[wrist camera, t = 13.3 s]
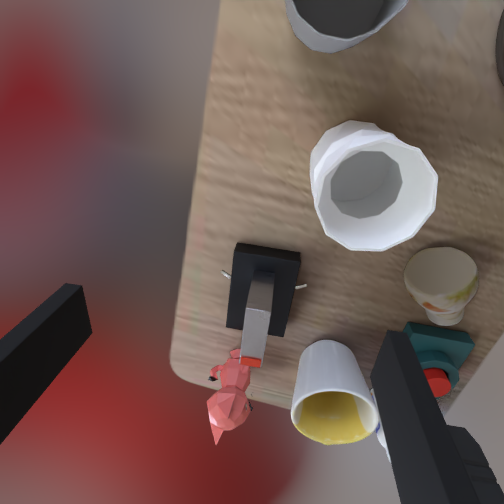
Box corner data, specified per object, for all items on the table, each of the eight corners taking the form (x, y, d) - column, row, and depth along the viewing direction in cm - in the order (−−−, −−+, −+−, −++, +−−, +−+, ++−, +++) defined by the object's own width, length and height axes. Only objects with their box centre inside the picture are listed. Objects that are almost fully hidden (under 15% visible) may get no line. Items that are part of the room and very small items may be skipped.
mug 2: (414, 320, 42) (413, 345, 34) (402, 248, 42) (397, 255, 34) (482, 317, 39) (500, 345, 30) (468, 239, 39) (482, 244, 30)
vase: (379, 103, 31) (424, 113, 20) (402, 183, 34) (451, 228, 24) (295, 142, 33) (296, 170, 23) (324, 213, 37) (336, 266, 26)
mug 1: (300, 320, 44) (302, 382, 35) (372, 335, 44) (393, 401, 35) (280, 384, 51) (277, 450, 42) (342, 397, 51) (353, 466, 42)
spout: (253, 269, 38) (245, 309, 32) (275, 272, 38) (271, 313, 31) (247, 320, 42) (238, 365, 35) (266, 323, 42) (261, 369, 35)
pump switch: (407, 321, 42) (418, 342, 39) (467, 332, 42) (483, 355, 39) (379, 376, 48) (386, 399, 44) (432, 386, 48) (443, 411, 44)
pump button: (422, 364, 41) (427, 375, 39) (450, 370, 41) (456, 381, 39) (411, 383, 43) (416, 394, 41) (438, 388, 43) (443, 399, 41)
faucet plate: (226, 240, 40) (222, 250, 37) (311, 254, 39) (312, 264, 37) (219, 314, 46) (215, 327, 43) (293, 327, 45) (293, 340, 43)
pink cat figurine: (251, 379, 51) (240, 455, 41) (210, 366, 51) (189, 440, 40) (264, 349, 48) (256, 424, 37) (221, 336, 48) (201, 408, 37)
